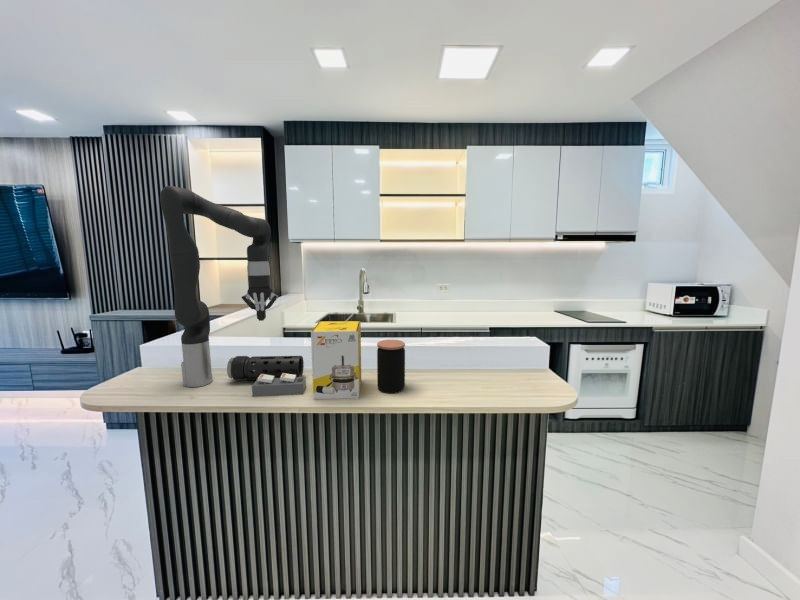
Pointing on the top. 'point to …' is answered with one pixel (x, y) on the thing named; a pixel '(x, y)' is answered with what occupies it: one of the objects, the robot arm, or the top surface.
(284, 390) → the switch strip
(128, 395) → the top surface
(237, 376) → the muzzle brake
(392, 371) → the coffee jar
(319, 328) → the packaging box
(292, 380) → the rocker
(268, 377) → the rocker
